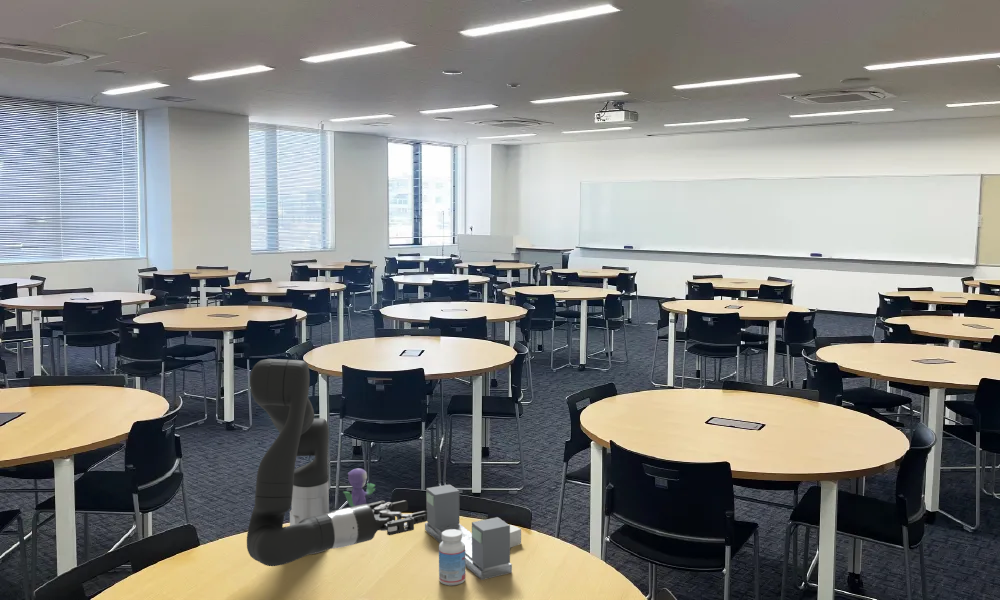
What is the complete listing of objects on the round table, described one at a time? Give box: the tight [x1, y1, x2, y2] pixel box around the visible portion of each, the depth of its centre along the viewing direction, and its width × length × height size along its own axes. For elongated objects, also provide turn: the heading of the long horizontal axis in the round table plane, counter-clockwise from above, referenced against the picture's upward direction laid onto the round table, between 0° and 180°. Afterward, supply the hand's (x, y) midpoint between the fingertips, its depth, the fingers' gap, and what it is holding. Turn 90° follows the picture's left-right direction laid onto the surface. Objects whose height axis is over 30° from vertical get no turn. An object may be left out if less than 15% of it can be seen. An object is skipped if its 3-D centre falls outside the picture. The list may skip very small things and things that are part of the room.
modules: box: [425, 484, 511, 569], centre depth 187 cm, size 7×34×9 cm, turn 28°
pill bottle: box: [438, 529, 467, 586], centre depth 170 cm, size 6×6×11 cm
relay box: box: [509, 524, 522, 549], centre depth 190 cm, size 6×4×4 cm, turn 133°
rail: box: [424, 522, 513, 580], centre depth 187 cm, size 8×34×2 cm, turn 28°
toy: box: [342, 467, 376, 507], centre depth 206 cm, size 18×6×15 cm, turn 168°
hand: (416, 510), depth 163 cm, fingers open, 8 cm apart
